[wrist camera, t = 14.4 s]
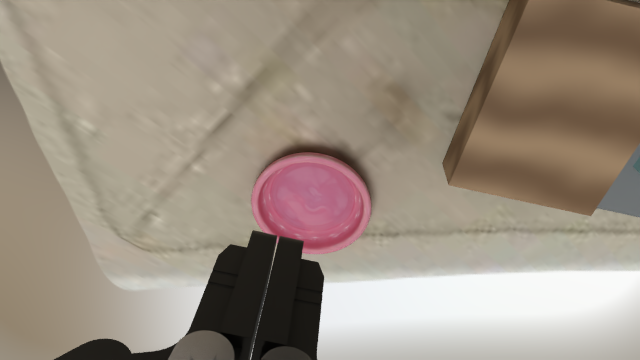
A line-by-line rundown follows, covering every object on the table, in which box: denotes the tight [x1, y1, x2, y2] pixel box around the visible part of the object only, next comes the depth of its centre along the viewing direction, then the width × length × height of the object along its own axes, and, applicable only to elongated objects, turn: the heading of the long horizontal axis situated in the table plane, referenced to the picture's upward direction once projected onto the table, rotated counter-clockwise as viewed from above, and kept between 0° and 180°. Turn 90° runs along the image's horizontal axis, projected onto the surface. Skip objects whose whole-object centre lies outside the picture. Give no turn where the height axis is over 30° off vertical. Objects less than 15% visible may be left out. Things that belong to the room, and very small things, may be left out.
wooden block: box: [443, 0, 640, 216], centre depth 40 cm, size 18×14×4 cm
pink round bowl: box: [251, 152, 371, 254], centre depth 49 cm, size 12×12×3 cm
